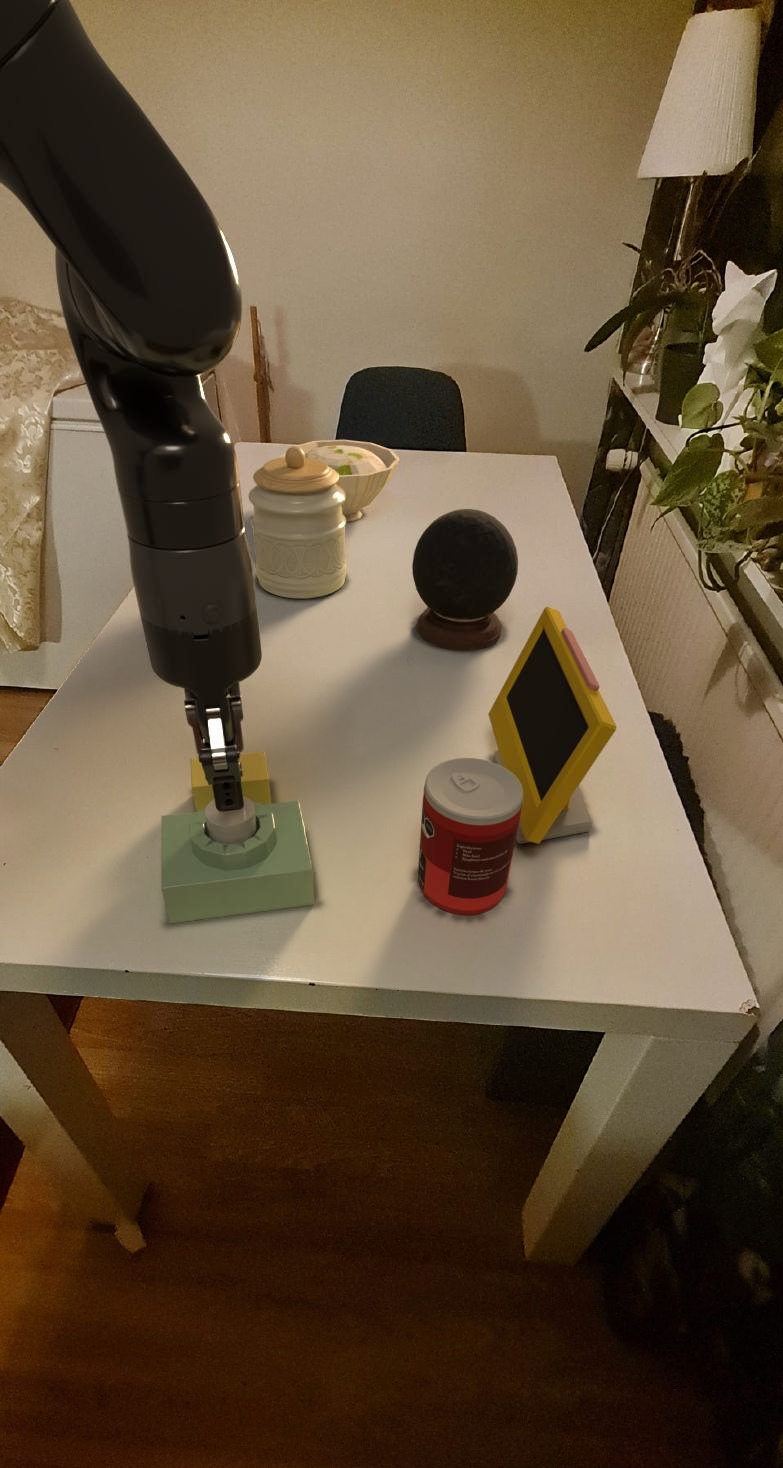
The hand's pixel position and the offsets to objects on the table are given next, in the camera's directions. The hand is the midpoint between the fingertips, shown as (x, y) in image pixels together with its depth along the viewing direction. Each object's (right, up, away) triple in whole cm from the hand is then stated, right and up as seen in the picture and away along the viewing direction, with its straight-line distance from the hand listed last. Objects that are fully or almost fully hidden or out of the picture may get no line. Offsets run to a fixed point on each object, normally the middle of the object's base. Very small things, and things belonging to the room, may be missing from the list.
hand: (230, 805), depth 62 cm
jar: (0, +36, +50) cm, 61 cm away
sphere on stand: (+22, +26, +40) cm, 53 cm away
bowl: (+4, +55, +69) cm, 88 cm away
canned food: (+19, -7, +6) cm, 21 cm away
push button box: (0, -6, +6) cm, 8 cm away
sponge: (-2, +1, +13) cm, 13 cm away
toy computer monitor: (+28, +2, +15) cm, 32 cm away
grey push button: (0, -2, +2) cm, 2 cm away
